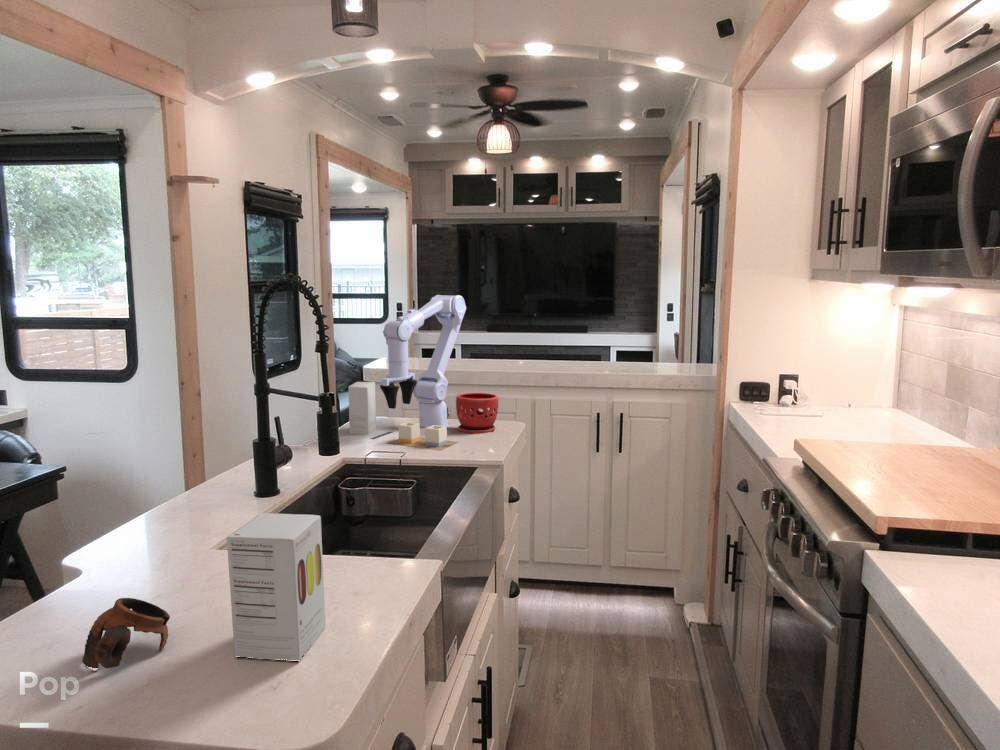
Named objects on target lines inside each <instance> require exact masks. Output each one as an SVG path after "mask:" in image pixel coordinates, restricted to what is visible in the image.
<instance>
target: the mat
mask: <svg viewBox="0 0 1000 750" xmlns="http://www.w3.org/2000/svg"><path fill="white" fill-rule="evenodd" d="M393 432H394V431H387V432H383V433H381V434H379V435H376V436H374V437H371V438H369V440H375V439H378V438H381V437H384V436H387V435H389V434H392V433H393Z"/></svg>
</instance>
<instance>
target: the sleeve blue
mask: <svg viewBox="0 0 1000 750" xmlns="http://www.w3.org/2000/svg"><path fill="white" fill-rule="evenodd" d="M447 429H448V428H447V426H438V425H432V426H430V427H427V428H424V430H425V432H424V433H425V437H424V438H426V446H434V447H441V446H443V445H445V444H447V441H448V430H447Z"/></svg>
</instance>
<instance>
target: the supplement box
mask: <svg viewBox="0 0 1000 750" xmlns="http://www.w3.org/2000/svg"><path fill="white" fill-rule="evenodd" d="M322 541H323V539H322V517H321V515H318V514H317V515H316V514H303V513H302V514H301V513H300V514H298V513H297V514H294V513H275V512H274V513H271V512H270V513H268V512H265V513H264V512H260V513H258V514H257V515H256V516H254V517H253V518H252V519H251V520H249V521H248V522H247V523H245V524H243V525H242V526H241V527H240V528H238V529H236V531H234V532H232V533H231V534H229V535H228V536H227V537H226V544H227V545H226V547H227V561H228V562H227V563H228V576H229V588H230V589H229V590H230V606H231V618H232V619H231V620H232V621H231V622H232V635H233V650H234V657H235V656H240V657H251V658H252V657H253V658H259V659H258V660H262V658H263V659H280V660H281V659H283V660H284V659H285V660H286V659H287V660H300V659H301V658H302V656H303V655H304V654H305V652H306V651H307V650H308V649H309V648H310V649H311V647H312V646H313V645H314V643H315V642H316V641H317V639H318V638H319V637H320V636H321V634H322V633H321V632H323V631H324V630H325V629H326V627H325V626H326V607H325V603H326V602H325V585H324V579H325V578H324V563H323V543H322ZM324 628H325V629H324ZM323 629H324V630H323ZM318 636H319V637H318ZM315 640H316V641H315ZM314 641H315V642H314ZM312 644H313V645H312ZM311 645H312V646H311ZM310 646H311V647H310ZM310 649H309V650H310ZM309 650H308V651H309ZM308 651H307V652H308ZM305 655H306V654H305ZM305 655H304V656H305ZM260 658H261V659H260ZM302 659H303V658H302ZM302 659H301V660H302Z"/></svg>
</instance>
